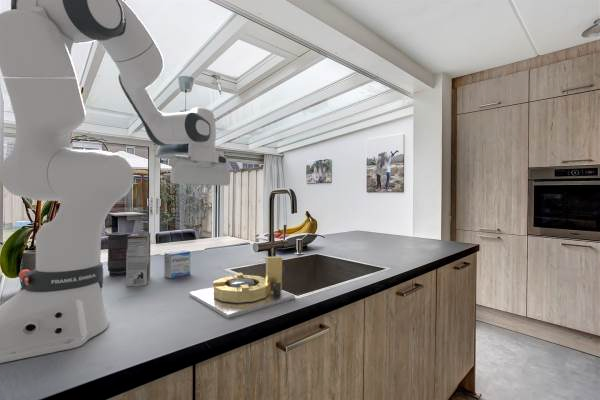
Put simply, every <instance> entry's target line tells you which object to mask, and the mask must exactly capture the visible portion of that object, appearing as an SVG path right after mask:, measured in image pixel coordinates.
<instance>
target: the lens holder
mask: <svg viewBox="0 0 600 400" xmlns="http://www.w3.org/2000/svg"><path fill="white" fill-rule="evenodd" d="M235 279H251V280H253V281H254V286H252V287H249V286H248V284H247V285H240V288H235V287H230V281H232V280H235ZM282 280H283V257H282V256H280V255H278V256H276V255H275V256H274V255H273V256H266V257H265V277H263V276H260V275H253V274H252V275H249V274H243V272H236V273H235V275H230V276H226V277H221V278H219V279H217V280H213V282H212V283H213V285H212V286H213V295H214V298H216V299H219V300H221V301H225V302H235V303H239V302H251V301H256V300H259V299H262V298H265V297H266V296H267V295H268V294H269V293H270V292H274V283H281V291H282V290H283V281H282Z"/></svg>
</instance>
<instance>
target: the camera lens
mask: <svg viewBox="0 0 600 400" xmlns="http://www.w3.org/2000/svg"><path fill="white" fill-rule="evenodd" d="M131 233H132V232H116V233H109V234H108V235H107V271H108V272H109V274H108V275H109V276H110V277H113V278H114V277H126V257H127V236H128V235H129V234H131Z"/></svg>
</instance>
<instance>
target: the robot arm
mask: <svg viewBox="0 0 600 400" xmlns="http://www.w3.org/2000/svg"><path fill="white" fill-rule="evenodd" d="M92 42H98V43H99V44H100V45H101V46H102V48H103V50H104V51H105V52H106V53H107V55H108V56H109V57H110V59H111V60H112V62H113V63H114V65H115V66H116V69H117V70H118V72H119V73H118V82H119V85H120V88H121V89H122V92H123V94H124V95H125V96H126V98H127V99H128V101H129V103H130V105H131V106H132V108H133V109H134V111H135V113H136V115H137V116H138V118H139V119H140V120H141V123H142V124H143V128H144V129H145V132H146V134H147V136H148V138H149V139H150V141H152V142H153V143H154V144H155V145H157V146H161V147H164V146H171V145H185V144H188V151H187V152H188V153H187V154H188V155H179V154H175V155H174V156H172V157H171V159H170V166H171V169H170V177H169V179H170V180H169V181H170V182H171V183H172V184H179V185H180V184H181V185H191V189H192V191H193V193H194V198H195V199H201V198H202V199H209V193H210V191H211V190H212V186H220V187H221V186H225V187H226V186H229V185H230V183H231V169H230V167H229V166H228V165H229V161H230V160H229V158H228V157H226V156H224V155H221V154H220V153H218V152H216V150H217V149H216V145H215V144H216V143H215V140H216V137H217V135H216V134H217V133H216V132H217V130H216V129H217V127H216V119H215V116H214V112H212V111H211V110H209V109H207V108H205V107H200V106H199V107H193V108H192V109H191V110H190V111H182V112H180V111H179V112H170V113H167V112H162V111H160V110H159V109H158V108H157V106H156V105H155V102H154V101H153V98H152V97H151V95H150V93H149V92H148V88H149V87H150V86H152V85H153V84H155V82H156V81H158V79H159V78H160V76H161V75H162V73H163V71H164V64H165V62H164V61H165V60H164V56H163V54H162V52H161V50H160V48H159V47H158V45H157V43H156V41H155V40H154V38H153V36H152V35H151V34H150V32H149V30H148V29H147V27H146V26H145V24H144V23H143V22H142V20H141V19H140V18H139V16H138V15H137V14H136V12H135V11H134V10H133V9H132V8H131V7H130V6H129V5H128V3H127V2H126V1H125V0H11V1H10V9H9V10H5V11H2V12H0V71H1V75H2V78H3V82H4V84H5V87H6V91H7V93H8V98H9V101H10V104H11V108H12V111H13V115H14V120H15V140H14V145H13V147H12V150H11V152H10V154H9V155H8V156H7V157H6V158H5V159H3V160H2V163H1V165H0V182H1V184H2V186H3V187H4V188H5V190H7V192H9V193H10V194H12V195H14V196H18V197H22V198H25V199H29V200H34V201H41V202H44V201H46V202H47V201H49V202H51V201H52V202H60V204H59V208H58V210H57V213H56V214H55V216H54V217H53V219H52V220H51V221H48V222H47V223H45V224H43V225H42V226H41V227H39V228H38V229H37V232H36V234H35V268H34V269H32V270H30V269H22V270H20V272H19V273H18V279H19V280H21V288H22V290H21V291H19V292H18V293H16V294H15V295H13V296H12V297H10V298H9V299H8V300H7V301H5V302H3V303H2V304H1V305H0V364H4V363H7V362H12V361H16V360H21V359H27V358H31V357H37V356H41V355H47V354H52V353H56V352H60V351H67V350H71V349H75V348H79V347H81V346H82V345H84V344H86V342H87V341H89V340H90V339H91V338H93V337H95V336H97V335H99V334H101V333H103V331H105V330H106V329H107V328H108V327H109V324H110V323H109V319H108V317H107V314H106V310H105V306H104V300H103V299H104V298H103V294H102V288H103V284H104V267H103V266H104V265H103V263H102V261H101V255H102V254H101V253H102V251H101V246H102V237H103V236H102V234H103V233H102V232H103V228H104V223H105V221H106V219H107V217H108V214H109V213H110V211H111V209H113V207H114V206H115V205H116V203H118V202H120V200H121V199H123V198H124V197H126V196H127V194H129V192H130V191H131V189H132V186H133V183H134V177H135V176H134V171H133V167H132V165H131V164H130V162H129V161H128V160H127V158H126V157H124V156H123V155H121V154H118V153H115V152H111V151H107V150H106V151H105V150H100V149H72V146H71V136H72V133H73V131H74V130H76V129H77V128H79V127H80V126H81V125H82V124H83V123H84V122H85V119H86V115H87V114H86V109H85V105H84V101H83V100H84V99H83V95H82V92H81V89H80V84H79V79H78V78H77V77H78V76H77V73H76V68H75V66H74V63H73V60H72V48H73V44H84V43H85V44H86V43H92ZM200 185H201V186H202V185H203V186H204V189H205V190H204V192H199V190H198V189H197V188H199V186H200Z"/></svg>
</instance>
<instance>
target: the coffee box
mask: <svg viewBox="0 0 600 400" xmlns="http://www.w3.org/2000/svg"><path fill="white" fill-rule="evenodd" d="M130 233H131V234H129V235H128V236H127V257H126V275H125V277H126V278H125V281H126V283H125V284H126V285H125V286H126V288H128V287H138V286H139V287H141V286H148V284H149V282H150V279H151V232H130Z"/></svg>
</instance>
